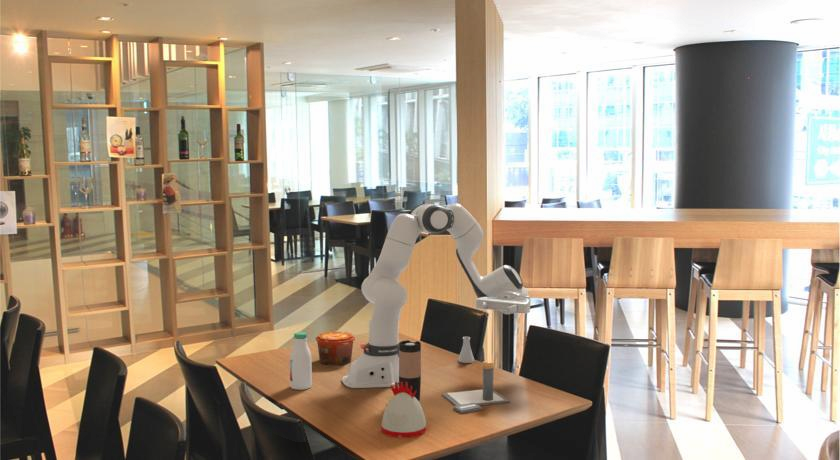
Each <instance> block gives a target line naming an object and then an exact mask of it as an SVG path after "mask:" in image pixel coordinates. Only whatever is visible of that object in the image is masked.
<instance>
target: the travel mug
mask: <svg viewBox="0 0 840 460" xmlns="http://www.w3.org/2000/svg"><path fill="white" fill-rule="evenodd" d="M421 349H422V343H421V341H419V340H416V341H412V340H401V341H400V342H399V383H398V387H399V389H400V385H401V382H403V388H405V384H406V382H407V384H408V389H410V387H411V386H412V390H411V393H412V394H413V393H414V392H415V391H416V390H417V391H416V394H415V396H414V397H415V398H416V399H417V400H418V401H420V400H421V385H422V382H421V381H422V350H421Z"/></svg>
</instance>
